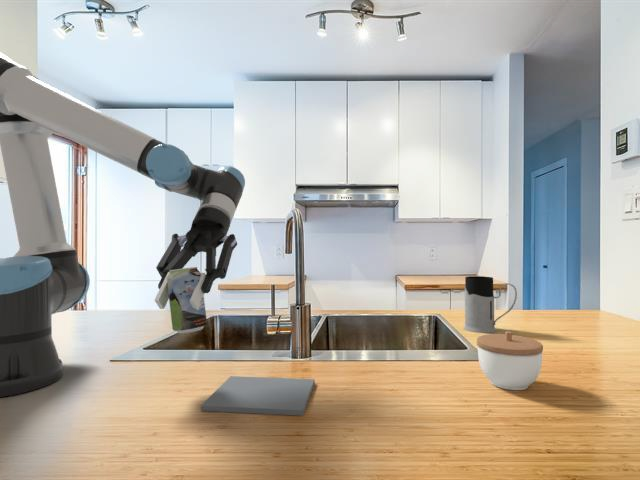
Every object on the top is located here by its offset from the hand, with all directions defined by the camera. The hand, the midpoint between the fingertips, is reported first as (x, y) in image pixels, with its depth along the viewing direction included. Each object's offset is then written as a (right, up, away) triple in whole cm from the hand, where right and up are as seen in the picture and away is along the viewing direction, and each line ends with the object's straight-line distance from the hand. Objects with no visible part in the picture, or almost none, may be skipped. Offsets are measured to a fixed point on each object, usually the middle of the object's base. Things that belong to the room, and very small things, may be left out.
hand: (176, 305), depth 69 cm
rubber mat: (+16, -15, -3) cm, 22 cm away
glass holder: (+74, -14, +42) cm, 86 cm away
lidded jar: (+60, -15, +1) cm, 61 cm away
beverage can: (+1, -6, +2) cm, 6 cm away
